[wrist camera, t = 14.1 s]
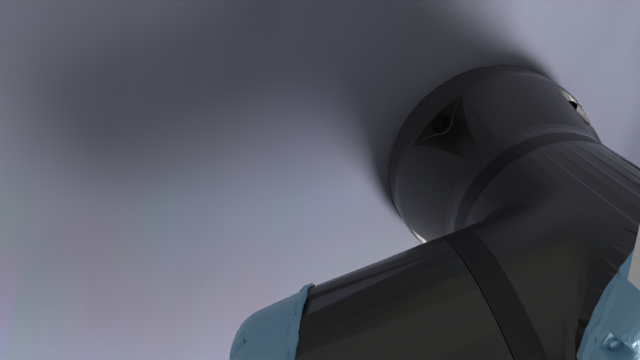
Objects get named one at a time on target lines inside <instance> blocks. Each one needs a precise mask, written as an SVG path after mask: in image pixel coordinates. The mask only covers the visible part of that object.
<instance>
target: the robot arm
mask: <svg viewBox="0 0 640 360" xmlns="http://www.w3.org/2000/svg"><path fill="white" fill-rule="evenodd" d="M389 183H390V190H391V195H392V198H393V201H394V204H395V206H396V208H397V210H398V212H399V214H400V216H401V217H402V219H403V220H404V222H405V224H406V225H407V227H408V228H409V230H410V231H411V232H412V234H413V235H414V236H415V237H416V238H417V239H418V240H419V241H420V242H421V243H422V244H421V245H418V246H416V247H414V248H411V249H409V250H406V251H404V252H401V253H399V254H396V255H394V256H391V257H389V258H387V259H384V260H382V261H379V262H377V263H374V264H371V265H369V266H366V267H364V268H361V269H358V270H356V271H353V272H351V273H348V274H345V275H343V276H340V277H338V278H335V279H332V280H330V281H327V282H325V283H322V284H319V285H317V286H315V285H314V284H312V283H311V284H308V285H306V286H304V287H303V288H302V289H301V290H300V292H298V293H296V294H294V295H292V296H290V297H287V298H285V299H283V300H281V301H279V302H277V303H274V304H272V305H270V306H268V307H266V308H263V309H261V310H259V311H257V312H255V313H254V314H252V315H251V316H249V317H248V318H247V319H246V320H245V321H244V322H243V323H242V325H241V326H240V328H239V330H238V331H237V333H236V335H235V338H234V340H233V343H232V347H231V352H230V360H640V167H638V166H636V165H635V164H633V163H632V162H630V161H628V160H627V159H625V158H624V157H622V156H620V155H619V154H617V153H615V152H614V151H612V150H611V149H609V148H608V147H606V146H604V145H603V144H602V143H601V141H600V139H599V137H598V135H597V134H596V132H595V130H594V128H593V127H592V126H591V125H590V122H589V120H588V118H587V116H586V114H585V112H584V110H583V109H582V107H581V106H580V104H579V103H578V102H577V100H576V99H575V98H574V97H573V96H572V95H571V94H570V93H569V92H568V91H566V90H565V89H564V88H563V87H561V86H560V85H558V84H557V83H555V82H553V81H551V80H550V79H548V78H546V77H544V76H543V75H541V74H539V73H537V72H534V71H532V70H529V69H525V68H521V67H516V66H490V67H484V68H479V69H475V70H472V71H469V72H466V73H463V74H461V75H459V76H457V77H455V78H453V79H451V80H449V81H447V82H446V83H444V84H442V85H441V86H439V87H438V88H437V89H435V90H434V91H433V92H432V93H430V94H429V95H428V96H427V97H426V98H425V99H424V100H423V101H422V102H421V103H420V104H419V105H418V106H417V107H416V108H415V109H414V111H413V112H412V113H411V115H410V116H409V117H408V119H407V120H406V122H405V124H404V125H403V127H402V129H401V131H400V133H399V135H398V137H397V139H396V142H395V145H394V148H393V151H392V155H391V160H390V167H389Z"/></svg>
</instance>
